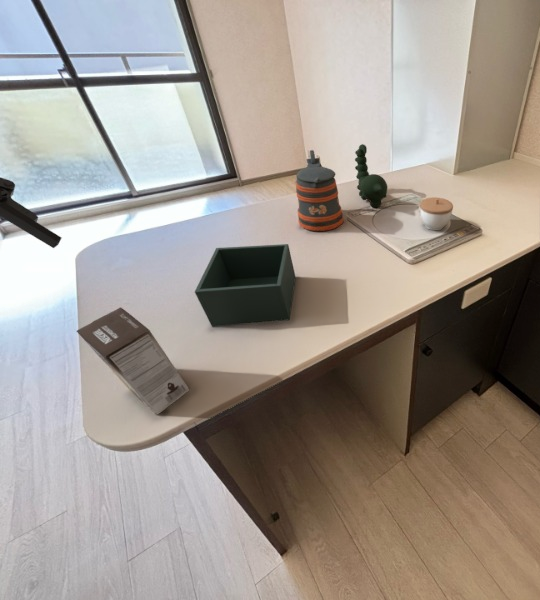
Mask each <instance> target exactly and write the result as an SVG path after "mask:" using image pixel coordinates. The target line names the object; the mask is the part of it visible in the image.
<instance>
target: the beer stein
mask: <svg viewBox="0 0 540 600" xmlns="http://www.w3.org/2000/svg"><path fill="white" fill-rule="evenodd" d="M315 155H316V154H315V151H314V149H311V150H309V157H310V158H306V163H307V165H306V167H304V168H302V169H300V170H298V172H297V173H296V180H295V189H296V190H295V193H296V197H297V202H298V203H297V204H298V208H297V216H298V224H299V226H300V227H301V228H303V229H304V230H307V231H309V232H310V231H311V232H328V231H331V230H335V229H337V228H338V227H340V226H341V225H342V224H343V223H344V217H343V209H342V206H341V204H340V199H339V190H338V186H337V180H336V178H335V177H336V172H335V171H334V170H333V169H331V168H329V167H325V166H322V163H321V162H320V157H316V156H315Z"/></svg>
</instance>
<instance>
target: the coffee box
mask: <svg viewBox="0 0 540 600" xmlns="http://www.w3.org/2000/svg"><path fill="white" fill-rule="evenodd" d="M151 331H152V330H150V329H149V328H148V327H147V326H145V325H144V324H143V323H142V322H141V321H139V320H138V319H137V318H135V317H134V316H133V315H132V314H130V313H129V312H128V311H127V310H125V309H124V308H123V307H118V308H117V309H114V310H113V311H111V312H109V313H106V314H105V315H103V316H101V317H98V318H97V319H95V320H93V321H92V322H91V323H89V324H86V325H84V326H83V327H80V328H79V329H77V330H76V333H77V334H78V335H79V336H80V337H81V338H82V339H83V341H84V342H85V343H86V344H87V345H88V346H89V347H90V348H91V349H92V350H93V352H94V353H95V354H96V355H97V356H98V357H99V358H100V359H101V360H102V362H103V363H104V364H105V365H106V366H107V367H108V368H109V369H110V371H112V373H113V374H114V375H115V376H116V377H117V378H118V379H119V380H120V382H122V384H124V386H126V387H127V389H128V390H129V391H130V392H131V393H133V395H134V396H135V397H137V398H138V399H139V400H140V401H141V402H142V403H143V404H144V405H145V406H146V407H147V408H148V409H149V410H150V411H151V412H152V413H153V414H154V415H155V416H157V415H159V414H160V413H162V412H163V411H165V410H166V409H167V408H168V407H169V406H171V405H172V404H174V403H175V402H176V401H178V400H179V399H180V398H181V397H183V396H184V395H186V394H187V393H188V392H189V391H190V387H189V386H188V385H187V383H186V382H185V380H184V379H183V378H182V376H181V375H180V373H179V372H178V370H177V369H176V367H175V366H174V364H173V363H172V361H171V359H170V358H169V357H168V355H167V354H166V352H165V351H164V349H163V347H161V345H160V343H159V341H158V340H157V339H156V338H155V336H154V335H153V333H152V332H151Z"/></svg>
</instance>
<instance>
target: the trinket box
mask: <svg viewBox="0 0 540 600" xmlns="http://www.w3.org/2000/svg"><path fill="white" fill-rule="evenodd" d="M453 210H454V204H453V202H451V201H450V200H449V199H447V198H443V197H434V196H433V197H426V198H423V199H422V200H421V201H420V202H419V216H420V220H421V222H422V224H423V225H424V227H426V229H428V230H432V231H441V230H442V229H443V228H444V227H446V226H447V225H448V224H449V222H450V220H451V217H452V214H453Z"/></svg>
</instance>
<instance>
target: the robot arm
mask: <svg viewBox="0 0 540 600" xmlns="http://www.w3.org/2000/svg"><path fill="white" fill-rule="evenodd" d="M15 188H16V183H14V182H13V181H12V180H10V179H7V178H4V177H1V176H0V217H1V218H2V219H4V220H5V221H7V222H8V223H10V224H12V225H13V226H16V227H17V228H19V229H21V230H22V231H24V232H25V233H27V234H29V235H31V236H32V237H33V238H36V239H38V240H39V241H40V242H42V243H44V244H46V245H48V246H49V247H50V248H53V249H55V248H56V247H58V246H59V244H60V242H61V240H62V237H61V236H60V235H58V234H56V233H55V232H53V231H52V230H50V229H48V228H47V227H45V226H44V225H42V224H40V223H39V222H38V220H39V216H38V215H37V214H36V213H35V212H34V211H32V210H30V209H29V208H27V207H26V206H24V205H22V204H20V203H19V202H17V201H16V200H15V199H14V198H12V196H14V192H15Z"/></svg>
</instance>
